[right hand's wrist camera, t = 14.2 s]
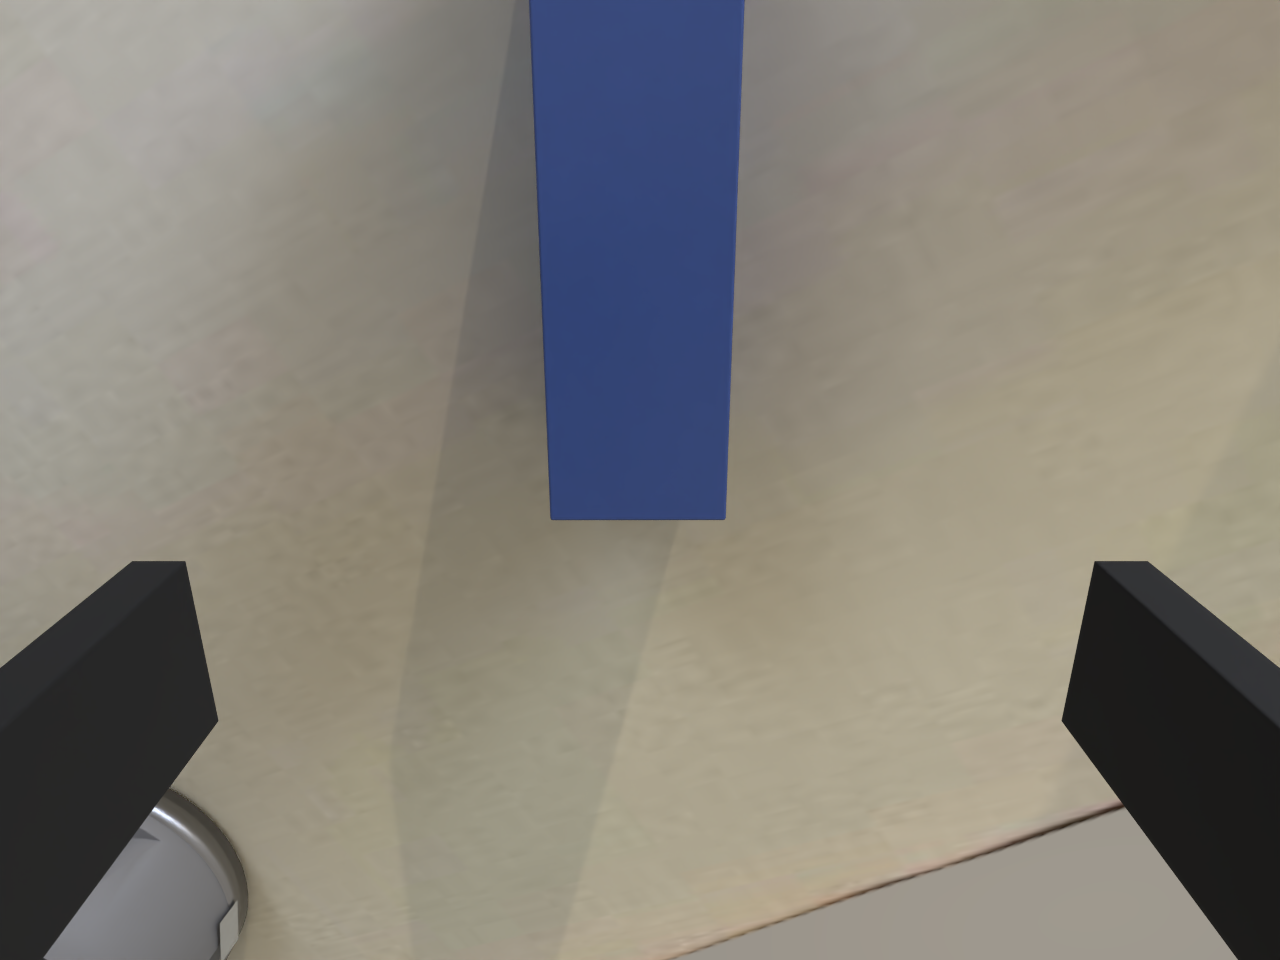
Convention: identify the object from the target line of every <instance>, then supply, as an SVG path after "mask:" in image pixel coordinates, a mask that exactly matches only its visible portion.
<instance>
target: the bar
mask: <svg viewBox="0 0 1280 960" xmlns="http://www.w3.org/2000/svg"><path fill="white" fill-rule="evenodd" d="M744 2H745V0H529V13H530V37H531V61H532V85H533V109H534V133H535V157H536V181H537V205H538V229H539V253H540V277H541V301H542V325H543V349H544V374H545V398H546V422H547V446H548V470H549V494H550V518H551V520H725V518H726V495H727V467H728V440H729V412H730V385H731V358H732V330H733V303H734V276H735V248H736V221H737V193H738V166H739V139H740V111H741V84H742V56H743V29H744Z"/></svg>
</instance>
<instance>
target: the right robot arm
mask: <svg viewBox="0 0 1280 960" xmlns="http://www.w3.org/2000/svg"><path fill="white" fill-rule="evenodd" d="M217 722H218V717H217V712H216V707H215V702H214V698H213V693H212V688H211V683H210V678H209V673H208V668H207V664H206V659H205V654H204V649H203V644H202V639H201V635H200V630H199V625H198V620H197V615H196V610H195V606H194V601H193V596H192V591H191V586H190V581H189V577H188V572H187V567H186V562H185V561H132V562H131V563H130V564H128V565H127V566H126V567H125V568H123V569H122V570H121V571H120V572H118V573H117V574H116V575H115V576H114V577H112V578H111V579H110V580H109V581H107V582H106V583H105V584H104V585H102V586H101V587H100V588H99V589H97V590H96V591H95V592H94V593H93V594H91V595H90V596H89V597H88V598H86V599H85V600H84V601H83V602H81V603H80V604H79V605H78V606H76V607H75V608H74V609H73V610H72V611H70V612H69V613H68V614H67V615H65V616H64V617H63V618H62V619H60V620H59V621H58V622H57V623H55V624H54V625H53V626H52V627H51V628H49V629H48V630H47V631H46V632H44V633H43V634H42V635H41V636H39V637H38V638H37V639H36V640H34V641H33V642H32V643H31V644H30V645H28V646H27V647H26V648H25V649H23V650H22V651H21V652H20V653H18V654H17V655H16V656H15V657H13V658H12V659H11V660H10V661H8V662H7V663H6V664H5V665H4V666H2V667H1V668H0V960H226V959H227V957H228V955H229V953H230V951H231V949H232V947H233V946H234V945H235V943H236V942H237V940H238V936H239V934H240V931H241V929H242V927H243V925H244V921H245V918H246V913H247V907H248V891H247V883H246V879H245V875H244V871H243V869H242V866H241V863H240V861H239V859H238V857H237V855H236V853H235V851H234V849H233V848H232V846H231V844H230V843H229V841H228V840H227V838H226V837H225V836H224V834H223V833H222V832H221V831H220V829H219V828H218V827H217V826H216V825H215V824H214V823H213V822H212V821H211V820H210V819H209V818H208V817H207V816H206V815H205V814H204V813H203V812H202V811H201V810H199V809H198V808H197V807H196V806H194V805H193V804H192V803H190V802H189V801H188V800H186V799H185V798H183V797H182V796H180V795H179V794H177V793H176V792H174V791H172V790H170V789H169V787H170V786H171V784H172V783H173V782H174V780H175V779H176V778H177V776H178V775H179V774H180V772H181V771H182V769H183V768H184V767H185V765H186V764H187V763H188V761H189V760H190V759H191V757H192V756H193V755H194V753H195V752H196V751H197V749H198V748H199V746H200V745H201V744H202V742H203V741H204V740H205V738H206V737H207V736H208V734H209V733H210V732H211V730H212V729H213V728H214V726H215V725H216V723H217ZM1062 722H1063V723H1064V725H1065V726H1066V728H1067V729H1068V730H1069V732H1070V733H1071V734H1072V736H1073V737H1074V738H1075V740H1076V741H1077V742H1078V744H1079V745H1080V746H1081V748H1082V749H1083V751H1084V752H1085V753H1086V755H1087V756H1088V757H1089V759H1090V760H1091V761H1092V763H1093V764H1094V765H1095V767H1096V768H1097V769H1098V771H1099V772H1100V774H1101V775H1102V776H1103V778H1104V779H1105V780H1106V782H1107V783H1108V784H1109V786H1110V787H1111V788H1112V790H1113V791H1114V793H1115V794H1116V795H1117V797H1118V798H1119V799H1120V801H1121V802H1122V803H1123V805H1124V806H1125V807H1126V809H1127V810H1128V811H1129V813H1130V814H1131V816H1132V817H1133V818H1134V820H1135V821H1136V822H1137V824H1138V825H1139V826H1140V828H1141V829H1142V830H1143V832H1144V833H1145V834H1146V836H1147V837H1148V838H1149V840H1150V841H1151V843H1152V844H1153V845H1154V847H1155V848H1156V849H1157V851H1158V852H1159V853H1160V855H1161V856H1162V857H1163V859H1164V860H1165V862H1166V863H1167V864H1168V866H1169V867H1170V868H1171V870H1172V871H1173V872H1174V874H1175V875H1176V876H1177V878H1178V879H1179V880H1180V882H1181V883H1182V884H1183V886H1184V887H1185V889H1186V890H1187V891H1188V893H1189V894H1190V895H1191V897H1192V898H1193V899H1194V901H1195V902H1196V903H1197V905H1198V906H1199V907H1200V909H1201V910H1202V912H1203V913H1204V914H1205V916H1206V917H1207V918H1208V920H1209V921H1210V922H1211V924H1212V925H1213V926H1214V928H1215V929H1216V931H1217V932H1218V933H1219V935H1220V936H1221V937H1222V939H1223V940H1224V941H1225V943H1226V944H1227V945H1228V947H1229V948H1230V949H1231V951H1232V952H1233V954H1234V955H1235V956H1236V958H1237V959H1238V960H1280V668H1279V667H1278V666H1276V665H1275V664H1274V663H1273V662H1272V661H1270V660H1269V659H1268V658H1267V657H1265V656H1264V655H1263V654H1262V653H1260V652H1259V651H1258V650H1257V649H1255V648H1254V647H1253V646H1252V645H1250V644H1249V643H1248V642H1247V641H1246V640H1244V639H1243V638H1242V637H1241V636H1239V635H1238V634H1237V633H1236V632H1234V631H1233V630H1232V629H1231V628H1229V627H1228V626H1227V625H1226V624H1225V623H1223V622H1222V621H1221V620H1220V619H1218V618H1217V617H1216V616H1215V615H1213V614H1212V613H1211V612H1210V611H1208V610H1207V609H1206V608H1205V607H1204V606H1202V605H1201V604H1200V603H1199V602H1197V601H1196V600H1195V599H1194V598H1192V597H1191V596H1190V595H1189V594H1187V593H1186V592H1185V591H1184V590H1183V589H1181V588H1180V587H1179V586H1178V585H1176V584H1175V583H1174V582H1173V581H1171V580H1170V579H1169V578H1168V577H1166V576H1165V575H1164V574H1163V573H1162V572H1160V571H1159V570H1158V569H1157V568H1155V567H1154V566H1153V565H1152V564H1150V563H1149V562H1148V561H1095V562H1094V567H1093V572H1092V577H1091V581H1090V586H1089V591H1088V596H1087V601H1086V606H1085V610H1084V615H1083V620H1082V625H1081V630H1080V635H1079V639H1078V644H1077V649H1076V654H1075V659H1074V664H1073V668H1072V673H1071V678H1070V683H1069V688H1068V693H1067V698H1066V702H1065V707H1064V712H1063V717H1062Z"/></svg>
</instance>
